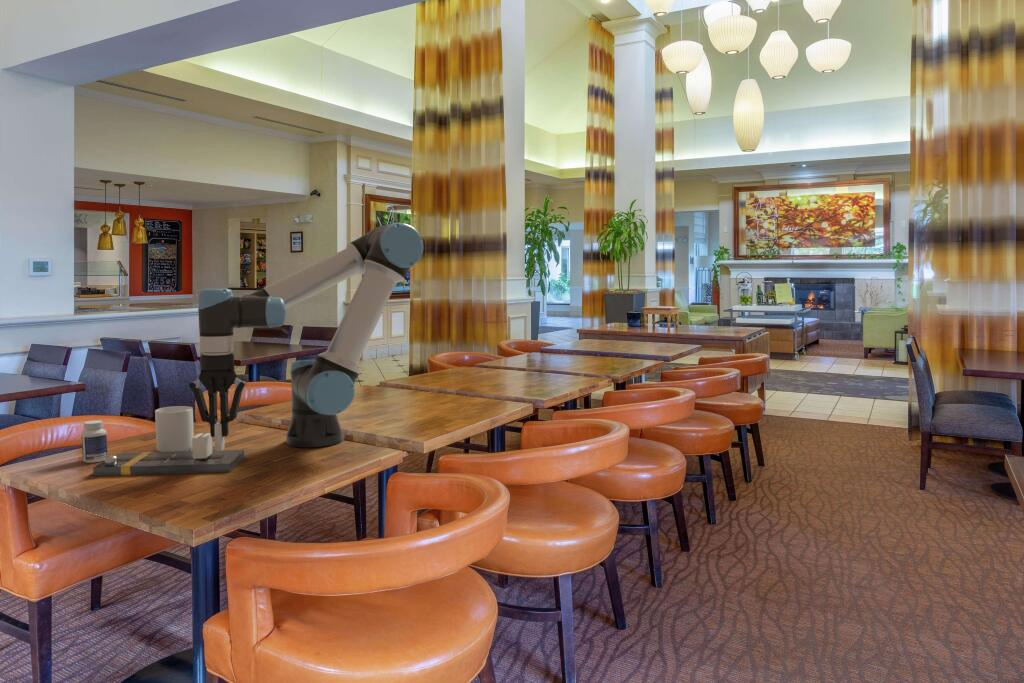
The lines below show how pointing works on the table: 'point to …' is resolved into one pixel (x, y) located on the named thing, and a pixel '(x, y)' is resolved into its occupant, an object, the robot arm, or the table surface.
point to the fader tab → (202, 445)
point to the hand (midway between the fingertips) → (220, 449)
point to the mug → (174, 428)
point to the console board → (168, 463)
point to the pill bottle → (94, 442)
